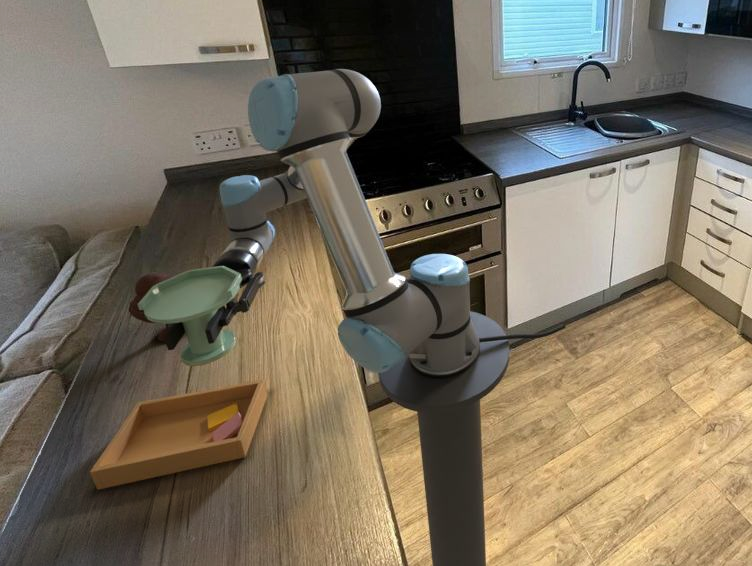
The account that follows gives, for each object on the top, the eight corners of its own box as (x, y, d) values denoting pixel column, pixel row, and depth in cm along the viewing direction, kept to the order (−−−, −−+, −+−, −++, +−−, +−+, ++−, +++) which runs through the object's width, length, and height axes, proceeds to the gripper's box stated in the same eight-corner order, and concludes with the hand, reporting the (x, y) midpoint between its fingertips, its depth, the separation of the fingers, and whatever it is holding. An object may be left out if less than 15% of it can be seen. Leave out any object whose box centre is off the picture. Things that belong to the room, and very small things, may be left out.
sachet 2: (241, 414, 76) (238, 411, 75) (245, 426, 73) (242, 423, 73) (214, 435, 73) (211, 433, 73) (217, 448, 71) (214, 446, 71)
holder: (268, 394, 82) (264, 379, 81) (245, 457, 71) (240, 440, 70) (143, 418, 77) (137, 402, 76) (97, 490, 66) (89, 472, 64)
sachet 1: (238, 414, 76) (239, 418, 77) (236, 402, 79) (237, 405, 79) (207, 428, 74) (209, 432, 74) (206, 415, 76) (207, 419, 76)
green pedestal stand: (260, 319, 86) (247, 262, 82) (239, 368, 75) (223, 305, 70) (182, 331, 82) (163, 273, 78) (147, 385, 71) (123, 320, 66)
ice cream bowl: (139, 358, 90) (117, 297, 85) (144, 328, 98) (124, 270, 93) (203, 337, 96) (185, 279, 91) (202, 310, 104) (187, 255, 99)
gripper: (287, 273, 97) (255, 347, 76) (192, 285, 92) (129, 368, 71) (281, 243, 94) (247, 312, 73) (183, 254, 89) (115, 331, 68)
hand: (189, 339), depth 72 cm, fingers closed on green pedestal stand, 5 cm apart
